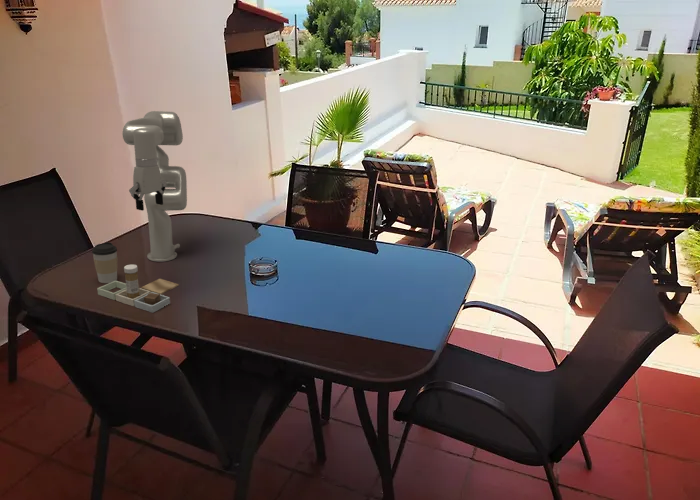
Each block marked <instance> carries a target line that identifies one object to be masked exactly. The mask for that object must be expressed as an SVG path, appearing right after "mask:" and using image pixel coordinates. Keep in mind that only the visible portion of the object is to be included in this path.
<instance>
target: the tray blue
mask: <svg viewBox="0 0 700 500" xmlns="http://www.w3.org/2000/svg"><path fill="white" fill-rule="evenodd" d="M151 293H154V292H151ZM154 294H157V293H154ZM147 295H148V294H147ZM147 295H145V296H147ZM145 296H143V297H141V298H139V299H137V300H135V306H134V307H135V308H137V309H140V310H144V311H147V312H149V313H153V314H154V313H155V312H157V311H159V310H162V309H163V308H165V307H167V306H168V304H169V305H170V304H171V298H170V296H166V295H164V294H161V295H160V302H158V303H156V304H154V305H149V304H146V303H144V297H145ZM166 305H167V306H166ZM164 306H165V307H164Z"/></svg>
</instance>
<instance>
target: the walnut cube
mask: <svg viewBox="0 0 700 500" xmlns="http://www.w3.org/2000/svg"><path fill="white" fill-rule="evenodd" d="M158 302H160V294H154V293H149V294H148V295H147V296H145V297H144V303H146V304H149V305H154V304H156V303H158Z"/></svg>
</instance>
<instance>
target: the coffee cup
mask: <svg viewBox="0 0 700 500" xmlns="http://www.w3.org/2000/svg"><path fill="white" fill-rule="evenodd" d="M91 249H92V250H91V251H92V252H91V253H92V255H93V262H94V268H95V272H96V274H97V279H98V282H99V283H102V284H109V283H111V282H113V281H118V255H117V254H118V253H117V252H118V249H117V246H116V245H113V243H112V242H109V241H108V242H103V243H98V244H96V245H95V246H93V248H91Z"/></svg>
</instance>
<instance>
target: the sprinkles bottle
mask: <svg viewBox="0 0 700 500" xmlns="http://www.w3.org/2000/svg"><path fill="white" fill-rule="evenodd" d="M138 269H139V268H138V265H137V264H127V265H125V266H124V267H123V270H124V271H123V272H124V274H125V276H124V277H125V284H126V288H127V297H128V298H131V299H134V298H136V297H138V296H140V294H139V288H140V283H139V273H138V272H139V271H138Z"/></svg>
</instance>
